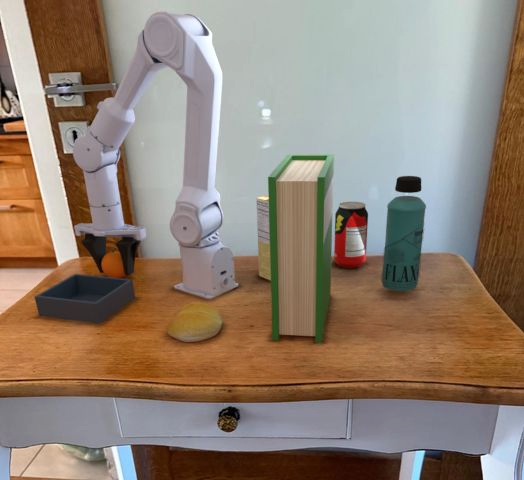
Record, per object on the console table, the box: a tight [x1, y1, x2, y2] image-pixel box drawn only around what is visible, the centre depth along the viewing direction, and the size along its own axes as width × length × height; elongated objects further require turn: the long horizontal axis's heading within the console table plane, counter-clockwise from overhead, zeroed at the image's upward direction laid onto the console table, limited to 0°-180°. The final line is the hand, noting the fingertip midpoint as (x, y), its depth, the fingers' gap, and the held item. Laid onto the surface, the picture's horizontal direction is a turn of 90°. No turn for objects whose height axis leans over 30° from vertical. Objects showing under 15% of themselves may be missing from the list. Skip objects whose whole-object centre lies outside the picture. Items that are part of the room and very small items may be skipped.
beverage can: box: [333, 201, 369, 269], centre depth 109 cm, size 6×6×12 cm
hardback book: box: [267, 154, 335, 343], centre depth 85 cm, size 18×7×24 cm, turn 170°
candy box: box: [256, 194, 271, 282], centre depth 105 cm, size 9×4×15 cm, turn 129°
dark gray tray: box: [34, 273, 136, 325], centre depth 96 cm, size 12×11×4 cm
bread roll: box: [166, 301, 224, 343], centre depth 86 cm, size 8×9×4 cm
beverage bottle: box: [380, 175, 427, 292], centre depth 94 cm, size 6×7×20 cm
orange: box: [101, 249, 126, 279], centre depth 109 cm, size 5×5×6 cm
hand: (116, 272), depth 109 cm, fingers closed on orange, 5 cm apart
